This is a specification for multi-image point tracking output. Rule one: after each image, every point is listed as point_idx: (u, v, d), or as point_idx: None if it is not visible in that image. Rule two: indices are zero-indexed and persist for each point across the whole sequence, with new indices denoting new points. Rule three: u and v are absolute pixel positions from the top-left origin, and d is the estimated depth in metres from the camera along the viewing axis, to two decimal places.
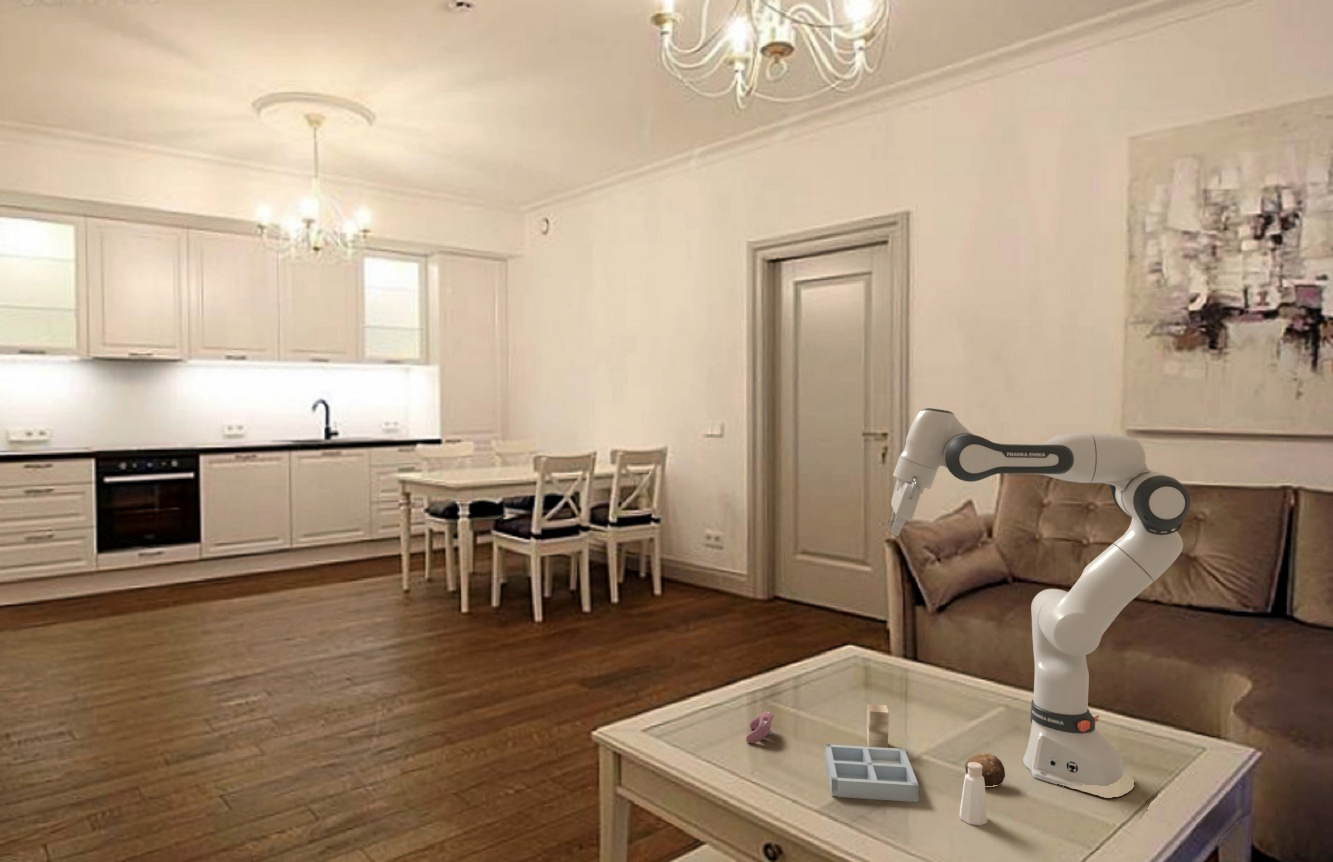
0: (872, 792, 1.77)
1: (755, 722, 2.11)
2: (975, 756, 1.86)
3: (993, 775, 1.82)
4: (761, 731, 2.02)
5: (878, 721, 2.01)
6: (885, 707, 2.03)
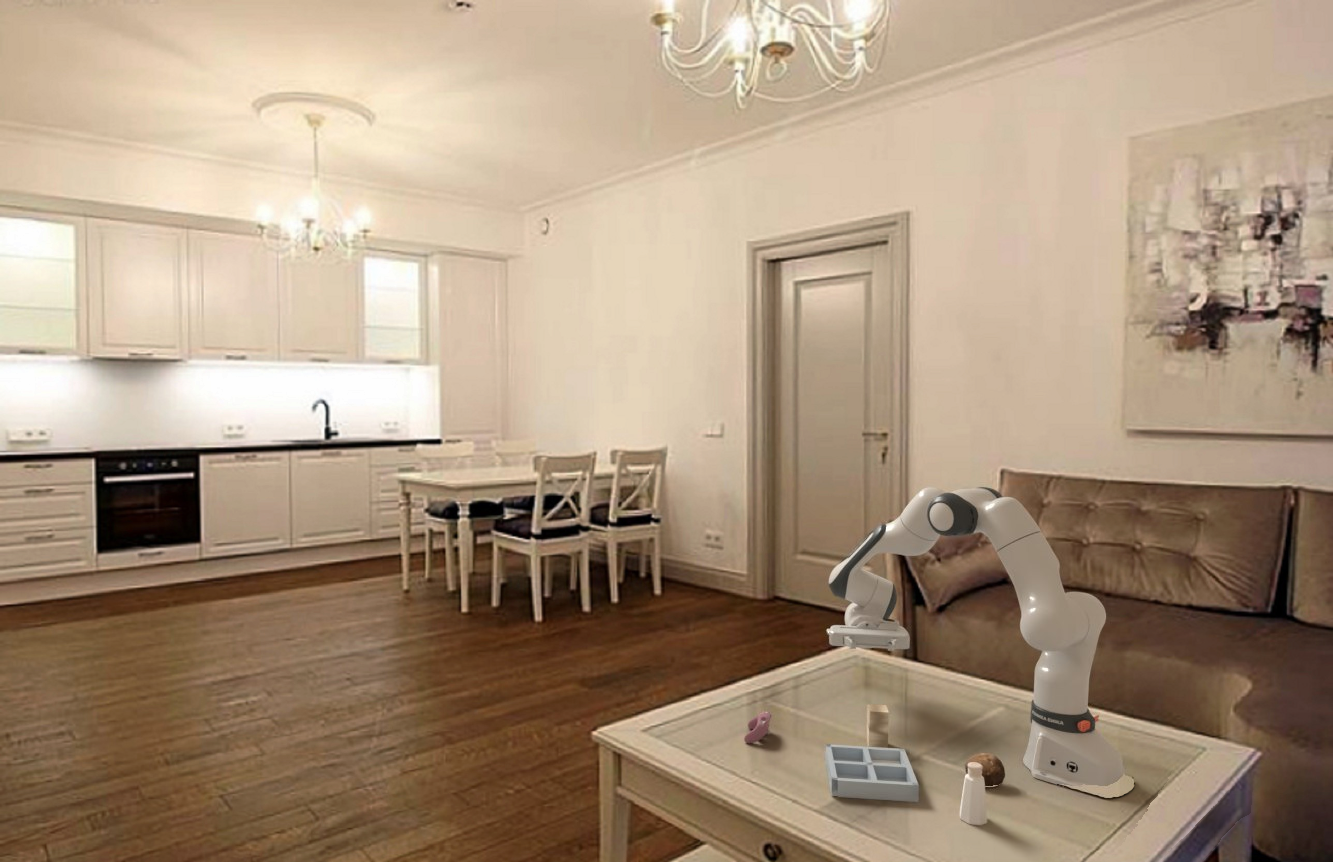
0: (872, 792, 1.77)
1: (753, 722, 2.11)
2: (975, 756, 1.86)
3: (993, 775, 1.82)
4: (759, 731, 2.02)
5: (878, 721, 2.01)
6: (885, 707, 2.03)
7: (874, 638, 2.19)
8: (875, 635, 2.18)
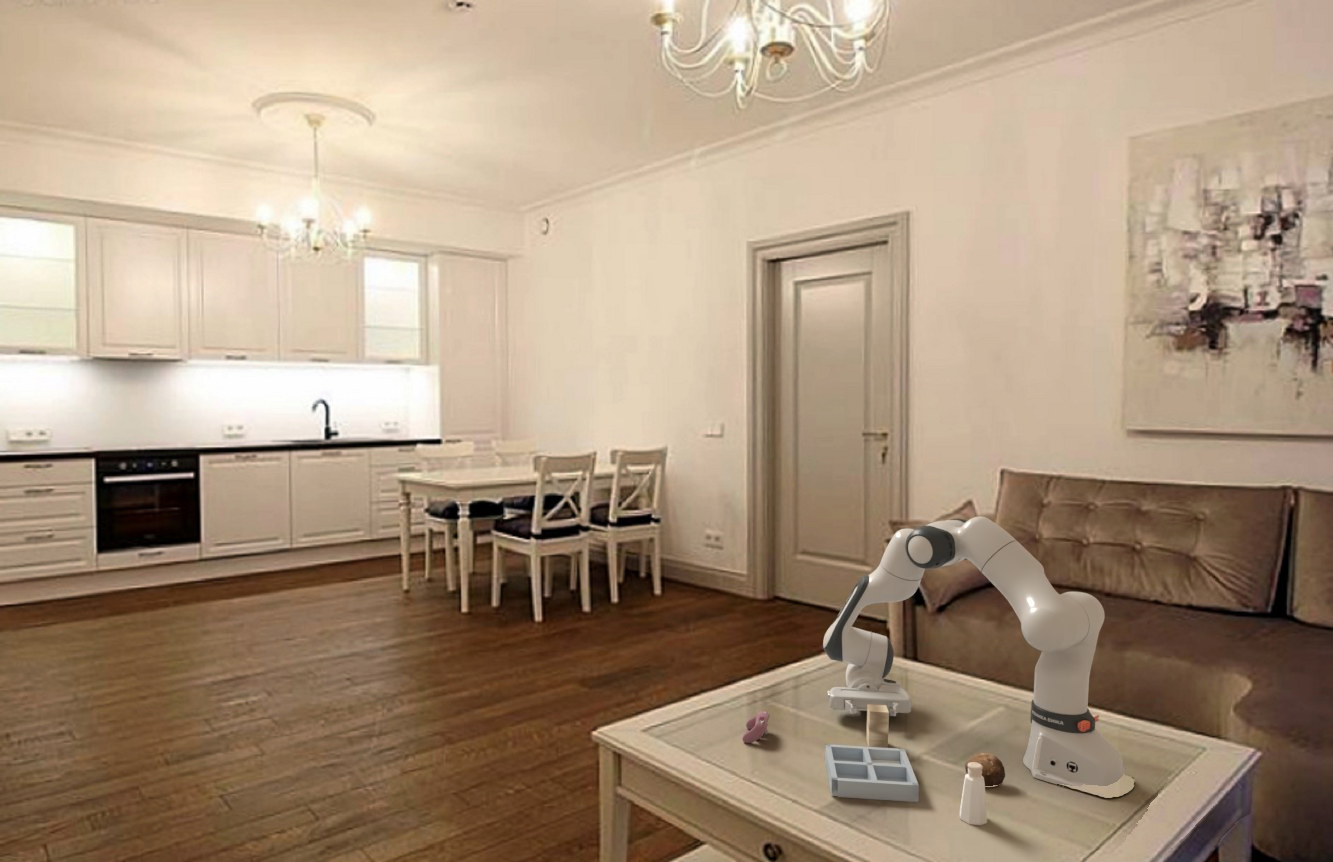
0: (872, 792, 1.77)
1: (751, 722, 2.11)
2: (975, 756, 1.86)
3: (993, 775, 1.82)
4: (757, 731, 2.02)
5: (878, 721, 2.01)
6: (885, 707, 2.03)
7: (875, 702, 2.16)
8: (876, 699, 2.15)
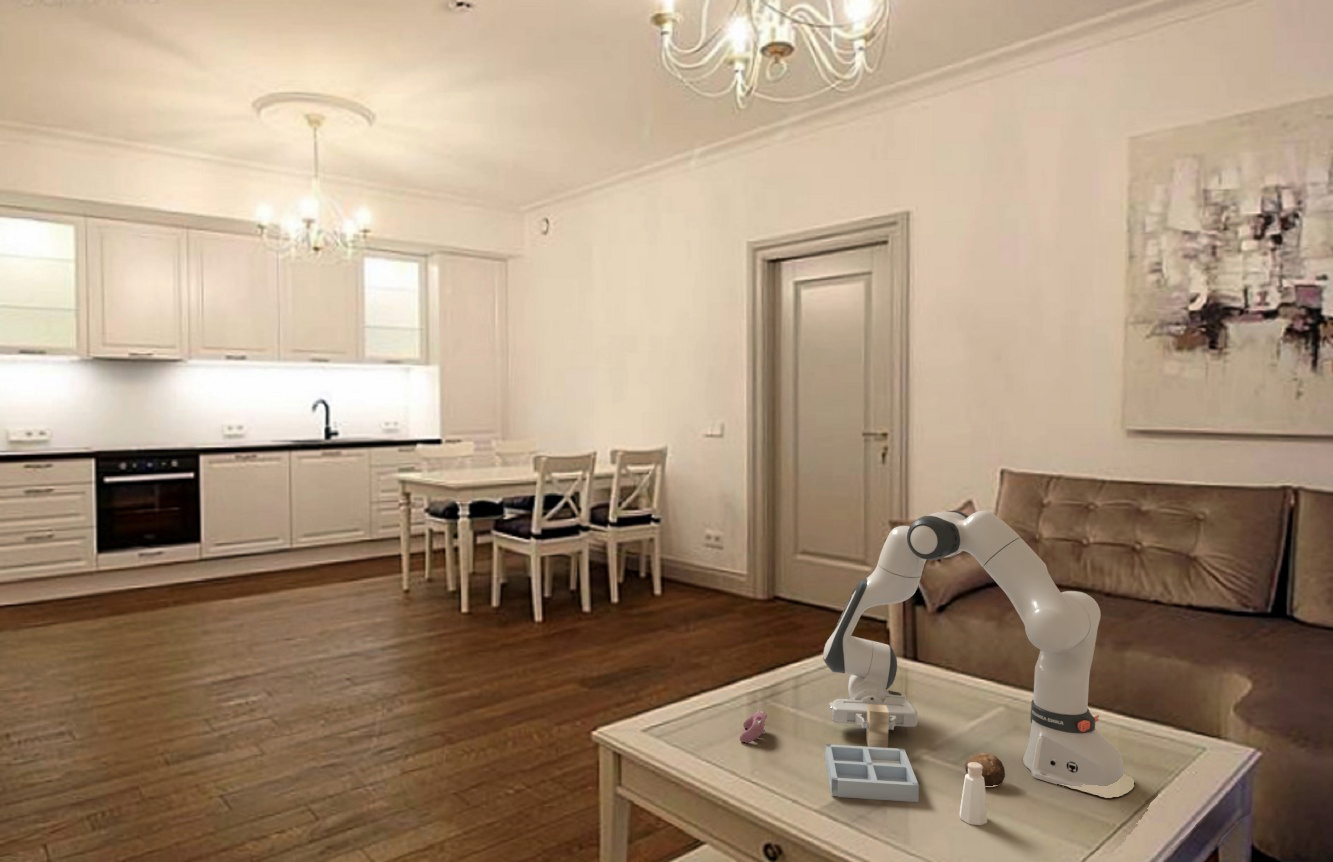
0: (872, 792, 1.77)
1: (749, 722, 2.11)
2: (975, 756, 1.86)
3: (993, 775, 1.82)
4: (754, 730, 2.02)
5: (878, 721, 2.01)
6: (885, 707, 2.03)
7: None
8: None
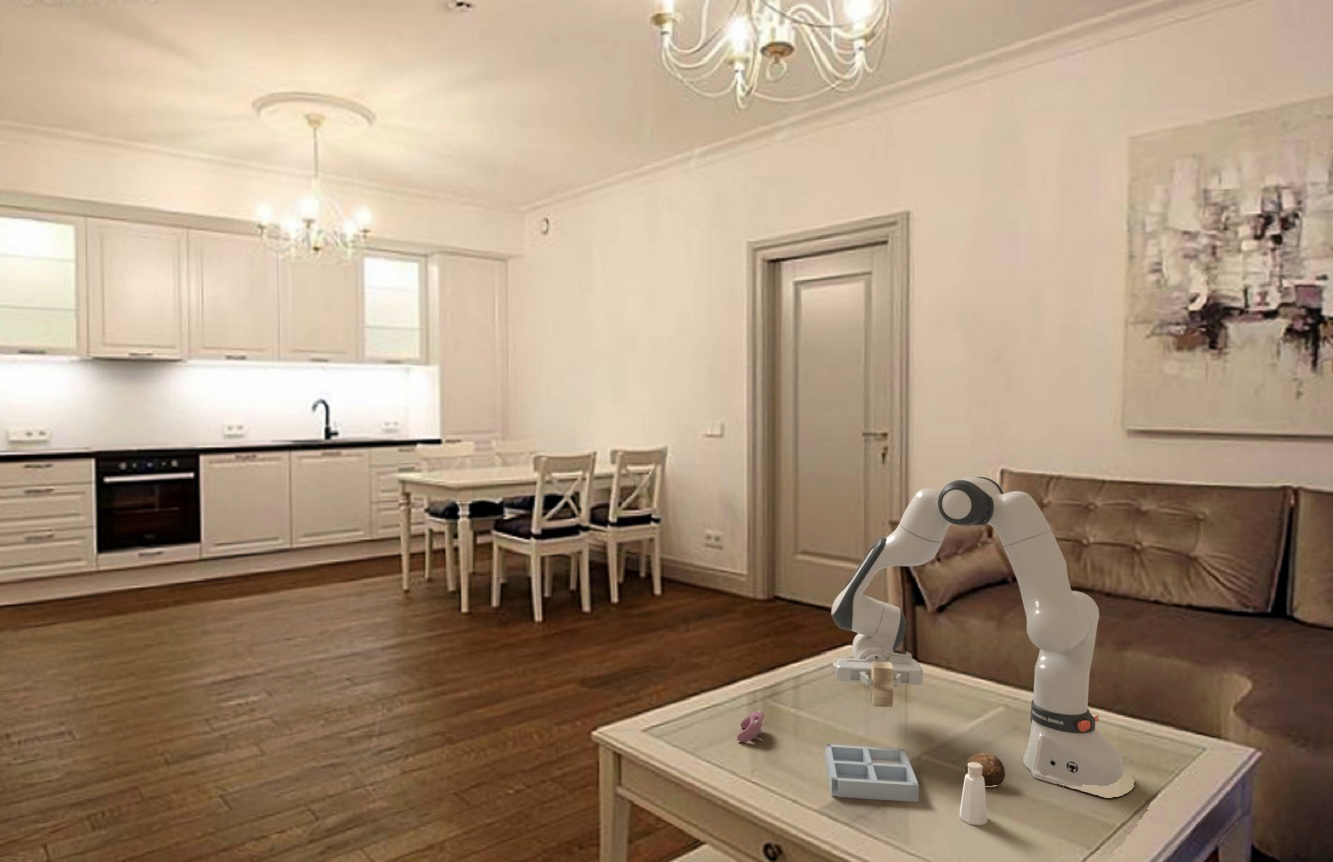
0: (872, 792, 1.77)
1: (746, 721, 2.11)
2: (975, 756, 1.86)
3: (993, 775, 1.82)
4: (751, 730, 2.02)
5: (883, 677, 1.96)
6: (890, 664, 1.98)
7: None
8: None
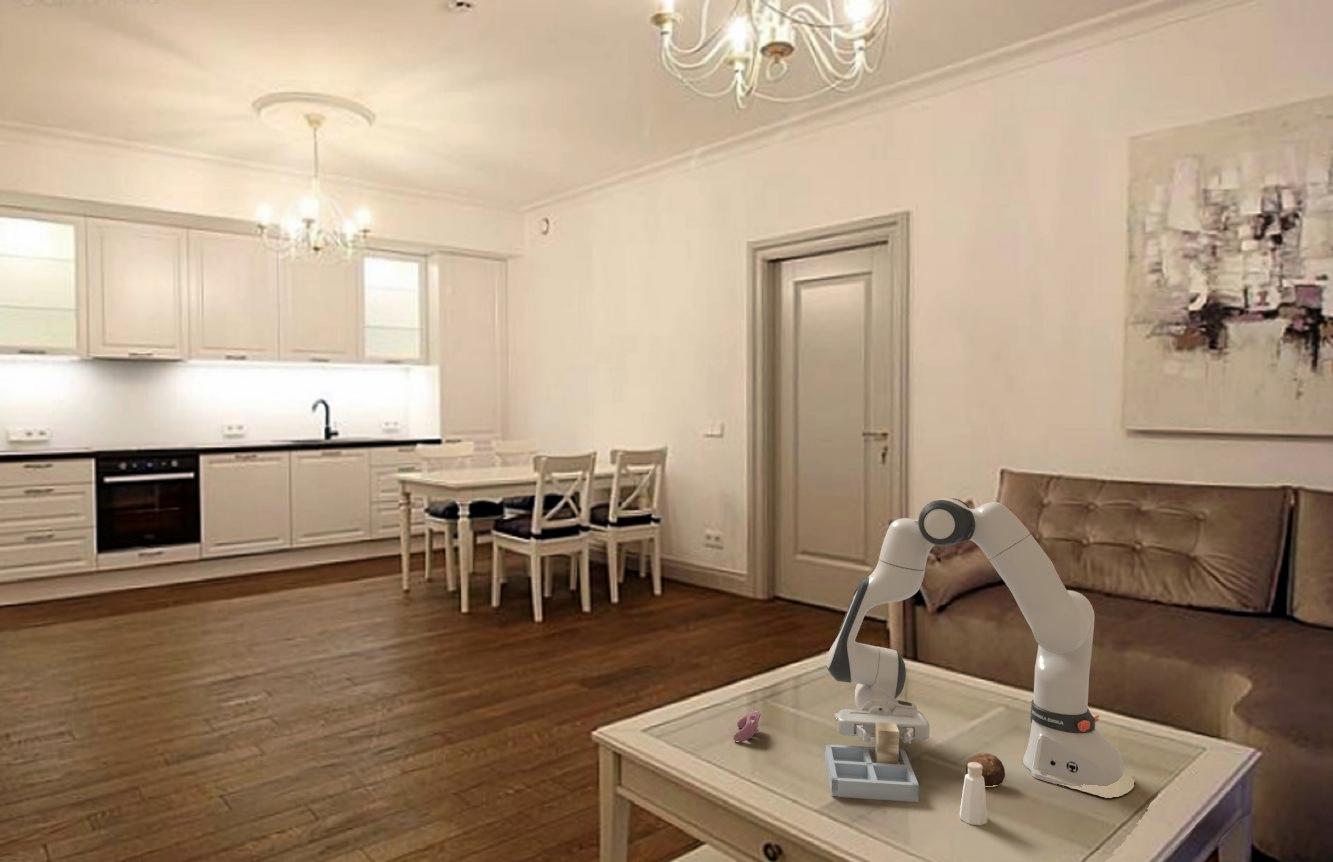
0: (872, 792, 1.77)
1: (742, 721, 2.11)
2: (975, 756, 1.86)
3: (993, 775, 1.82)
4: (748, 730, 2.03)
5: (888, 741, 1.87)
6: (895, 726, 1.89)
7: None
8: None
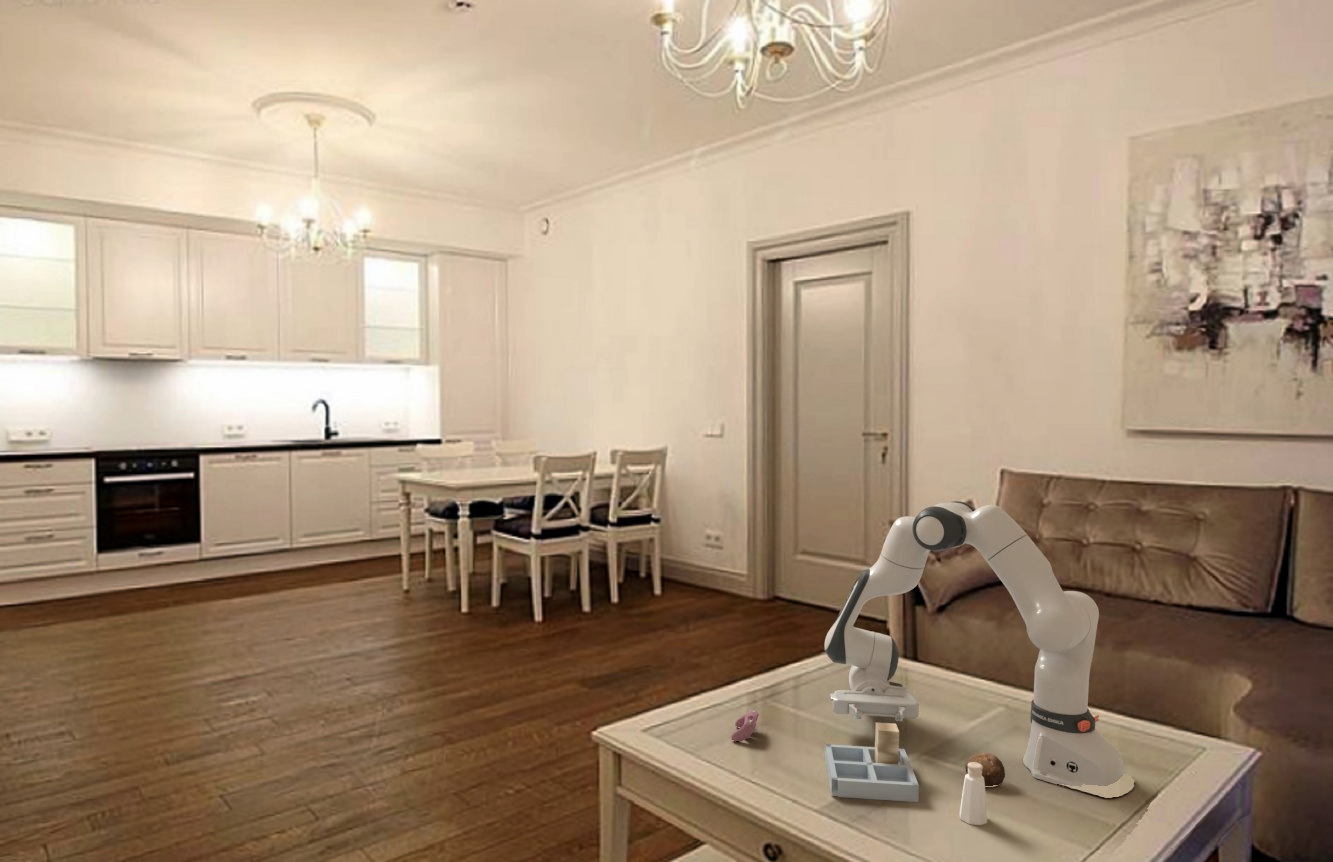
0: (872, 792, 1.77)
1: (740, 721, 2.11)
2: (975, 756, 1.86)
3: (993, 775, 1.82)
4: (746, 730, 2.03)
5: (888, 741, 1.87)
6: (895, 726, 1.89)
7: (881, 706, 2.05)
8: (882, 703, 2.05)
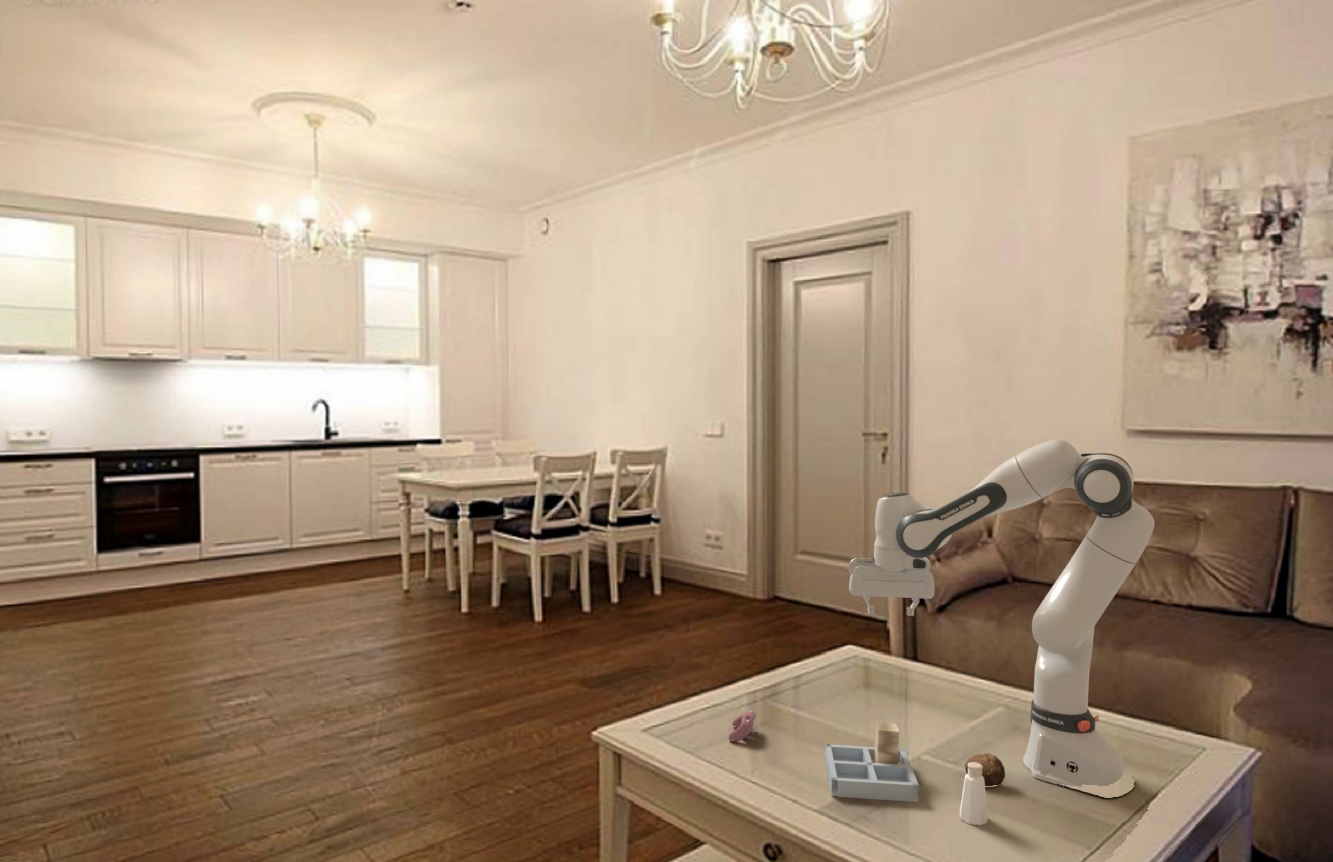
0: (872, 792, 1.77)
1: (738, 721, 2.11)
2: (975, 756, 1.86)
3: (993, 775, 1.82)
4: (743, 730, 2.03)
5: (888, 741, 1.87)
6: (895, 726, 1.89)
7: None
8: (897, 596, 2.08)
